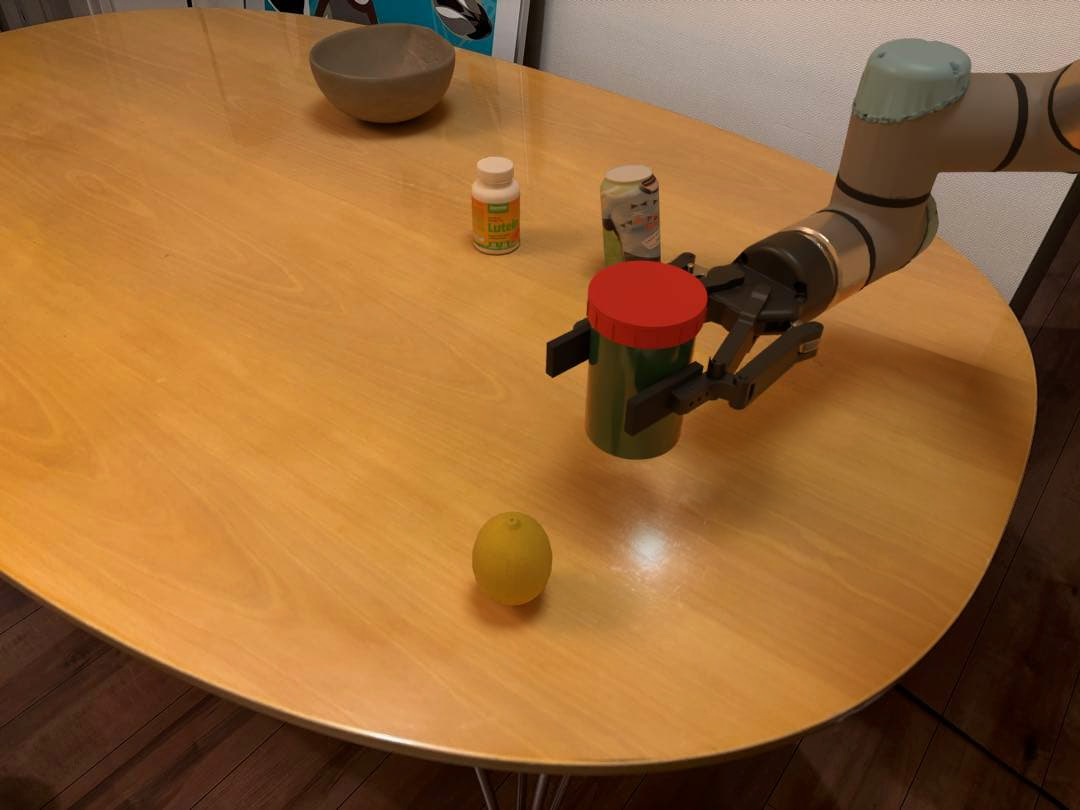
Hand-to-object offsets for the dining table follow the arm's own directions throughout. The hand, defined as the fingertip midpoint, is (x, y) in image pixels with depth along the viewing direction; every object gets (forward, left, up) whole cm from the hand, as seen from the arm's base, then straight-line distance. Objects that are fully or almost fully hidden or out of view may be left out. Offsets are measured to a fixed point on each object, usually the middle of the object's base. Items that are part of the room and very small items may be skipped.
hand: (588, 388), depth 60 cm
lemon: (-7, +5, -14) cm, 16 cm away
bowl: (+77, +32, -14) cm, 85 cm away
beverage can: (+37, -3, -14) cm, 40 cm away
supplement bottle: (+42, +12, -14) cm, 46 cm away
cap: (+3, -3, +5) cm, 7 cm away
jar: (+4, -3, -6) cm, 8 cm away
